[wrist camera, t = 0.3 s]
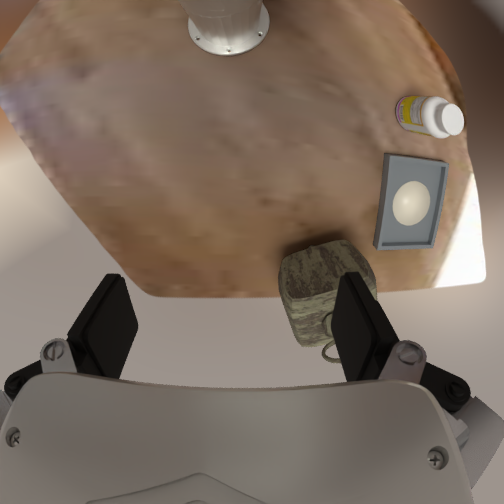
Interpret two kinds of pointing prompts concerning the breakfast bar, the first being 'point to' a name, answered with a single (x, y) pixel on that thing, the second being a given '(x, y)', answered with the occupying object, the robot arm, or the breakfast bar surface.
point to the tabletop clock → (318, 289)
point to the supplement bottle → (429, 116)
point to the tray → (410, 202)
